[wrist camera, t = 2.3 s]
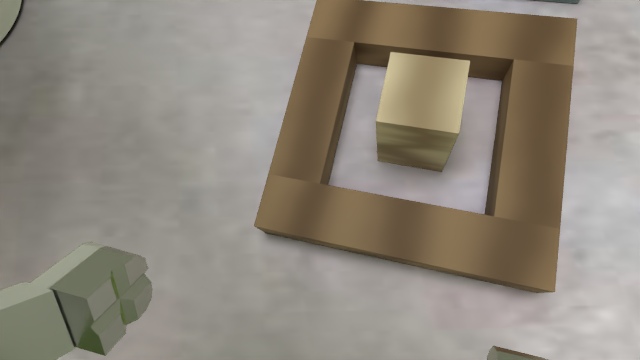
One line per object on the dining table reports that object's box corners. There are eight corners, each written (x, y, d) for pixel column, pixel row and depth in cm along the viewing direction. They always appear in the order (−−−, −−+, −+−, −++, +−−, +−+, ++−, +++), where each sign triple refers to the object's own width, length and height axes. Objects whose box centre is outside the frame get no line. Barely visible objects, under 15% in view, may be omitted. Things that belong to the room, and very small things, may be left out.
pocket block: (265, 232, 32) (253, 226, 29) (323, 20, 36) (317, -4, 34) (537, 292, 27) (554, 291, 24) (560, 43, 32) (577, 18, 29)
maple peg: (377, 161, 32) (375, 121, 25) (389, 105, 33) (390, 52, 26) (441, 171, 31) (458, 133, 24) (451, 113, 32) (470, 60, 25)
